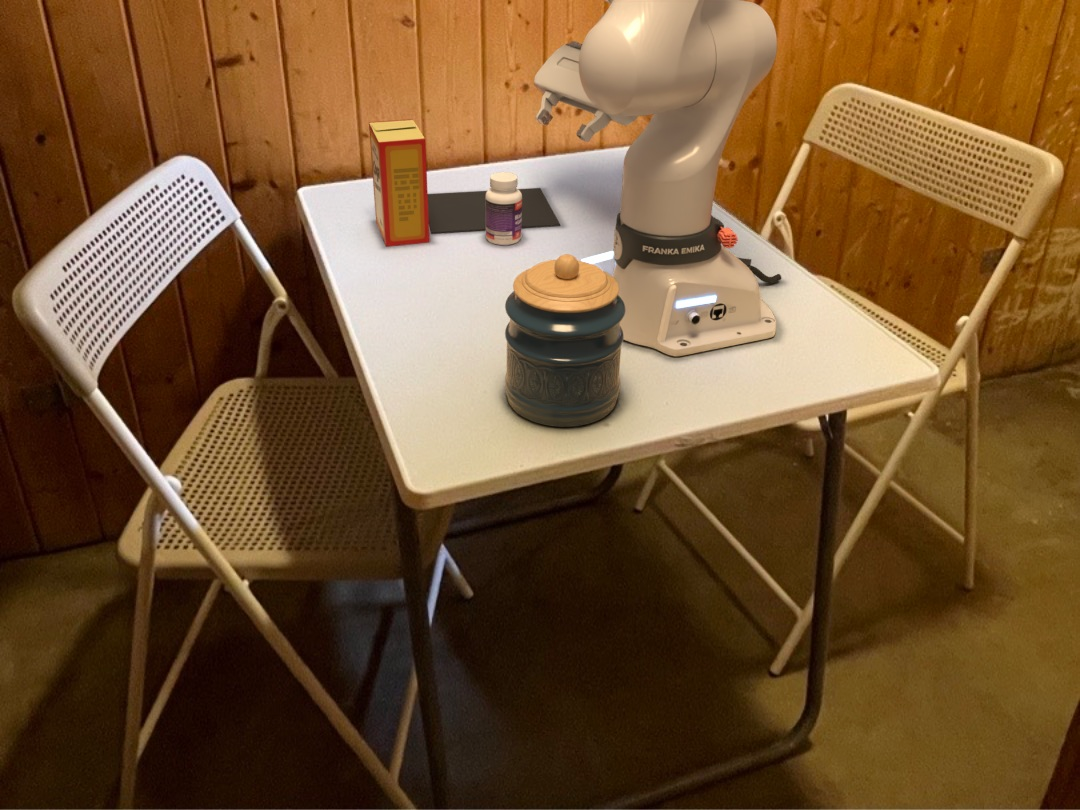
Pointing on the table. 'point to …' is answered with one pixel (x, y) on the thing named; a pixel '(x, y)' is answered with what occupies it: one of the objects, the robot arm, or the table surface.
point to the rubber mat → (483, 211)
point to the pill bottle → (503, 209)
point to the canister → (564, 343)
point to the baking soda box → (400, 181)
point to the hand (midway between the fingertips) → (560, 130)
